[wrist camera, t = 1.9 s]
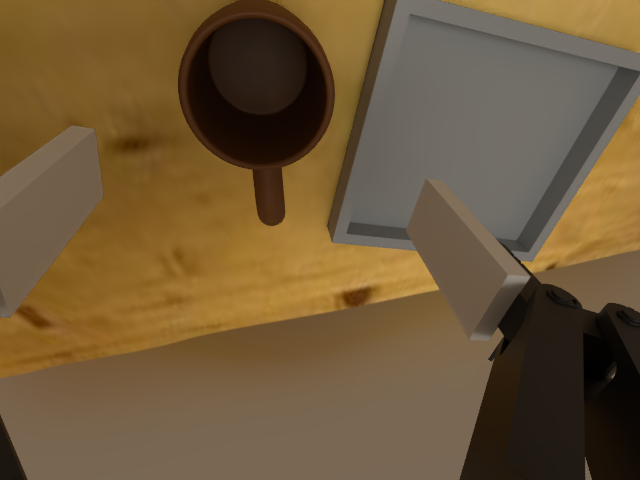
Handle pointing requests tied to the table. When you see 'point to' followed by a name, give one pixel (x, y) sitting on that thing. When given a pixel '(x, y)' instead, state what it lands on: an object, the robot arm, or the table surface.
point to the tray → (477, 123)
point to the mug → (257, 93)
